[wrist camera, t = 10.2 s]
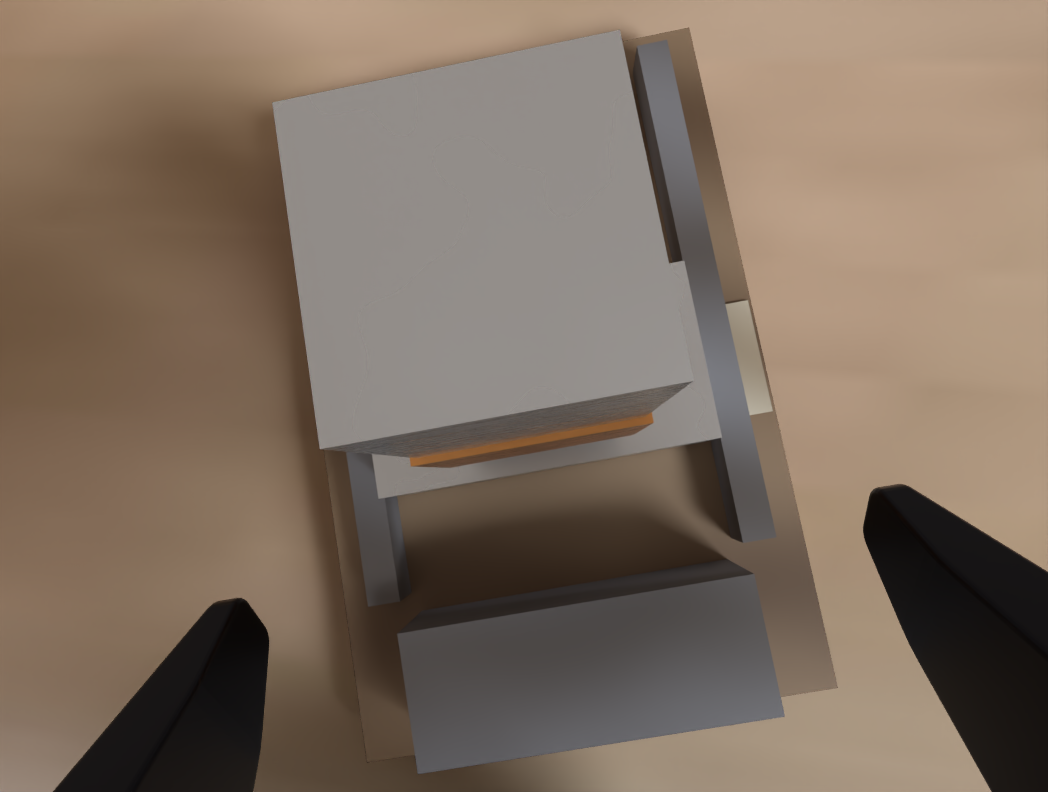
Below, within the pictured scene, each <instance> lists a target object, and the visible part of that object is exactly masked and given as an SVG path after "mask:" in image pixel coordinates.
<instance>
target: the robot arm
mask: <svg viewBox="0 0 1048 792" xmlns="http://www.w3.org/2000/svg"><path fill="white" fill-rule="evenodd" d="M863 533H864V538H865V542H866V545H867V547H868V549H869V552H870V554H871V556H872V559H873V561H874V563H875V566H876V568H877V571H878V573H879V575H880V578H881V580H882V582H883V585H884V587H885V589H886V592H887V594H888V596H889V599H890V601H891V603H892V606H893V608H894V611H895V613H896V615H897V618H898V620H899V622H900V625H901V627H902V629H903V631H904V634H905V636H906V638H907V640H908V642H909V645H910V646H911V648H912V650H913V652H914V654H915V656H916V658H917V660H918V662H919V663H920V665H921V667H922V669H923V670H924V672H925V674H926V676H927V678H928V679H929V681H930V683H931V685H932V686H933V688H934V690H935V692H936V694H937V695H938V697H939V699H940V701H941V702H942V704H943V706H944V708H945V710H946V711H947V713H948V715H949V717H950V718H951V720H952V722H953V724H954V726H955V727H956V729H957V731H958V733H959V735H960V736H961V738H962V740H963V742H964V743H965V745H966V747H967V749H968V751H969V752H970V754H971V756H972V758H973V759H974V761H975V763H976V765H977V767H978V768H979V770H980V772H981V774H982V775H983V777H984V779H985V781H986V783H987V784H988V786H989V788H990V790H991V792H1048V572H1047V571H1046V570H1044V569H1043V568H1041V567H1039V566H1038V565H1036V564H1034V563H1033V562H1031V561H1030V560H1028V559H1026V558H1025V557H1023V556H1021V555H1020V554H1018V553H1017V552H1015V551H1013V550H1012V549H1010V548H1008V547H1007V546H1005V545H1004V544H1002V543H1000V542H999V541H997V540H995V539H994V538H992V537H991V536H989V535H987V534H986V533H984V532H982V531H981V530H979V529H978V528H976V527H974V526H973V525H971V524H969V523H968V522H966V521H965V520H963V519H961V518H960V517H958V516H956V515H955V514H953V513H952V512H950V511H948V510H947V509H945V508H943V507H942V506H940V505H939V504H937V503H935V502H934V501H932V500H930V499H929V498H927V497H926V496H924V495H922V494H921V493H919V492H917V491H916V490H914V489H913V488H911V487H909V486H906V485H903V484H896V485H890V486H884V487H878V488H875V489H874V490H873V491H872V492H871V493H870V496H869V501H868V506H867V511H866V515H865V520H864V525H863ZM268 653H269V636H268V632H267V629H266V627H265V626H264V624H263V623H262V622H261V620H260V619H259V618H258V616H257V615H256V613H255V612H254V611H253V609H252V608H251V606H250V605H249V604H248V602H247V601H246V600H244V599H242V598H234V599H229V600H223V601H218V602H215V603H213V604H212V605H211V606H210V607H209V608H208V609H207V610H206V611H205V612H204V613H203V615H202V616H201V617H200V618H199V619H198V621H197V622H196V623H195V624H194V625H193V627H192V628H191V629H190V630H189V631H188V632H187V634H186V635H185V636H184V637H183V638H182V640H181V641H180V642H179V643H178V644H177V645H176V647H175V648H174V649H173V650H172V651H171V653H170V654H169V655H168V656H167V657H166V658H165V660H164V661H163V662H162V663H161V664H160V666H159V667H158V668H157V669H156V670H155V671H154V673H153V674H152V675H151V676H150V677H149V679H148V680H147V681H146V682H145V683H144V684H143V686H142V687H141V688H140V689H139V690H138V692H137V693H136V694H135V695H134V696H133V698H132V699H131V700H130V701H129V702H128V703H127V705H126V706H125V707H124V708H123V709H122V711H121V712H120V713H119V714H118V715H117V716H116V718H115V719H114V720H113V721H112V722H111V724H110V725H109V726H108V727H107V728H106V729H105V731H104V732H103V733H102V734H101V735H100V737H99V738H98V739H97V740H96V741H95V742H94V744H93V745H92V746H91V747H90V748H89V750H88V751H87V752H86V753H85V754H84V755H83V757H82V758H81V759H80V760H79V761H78V763H77V764H76V765H75V766H74V767H73V769H72V770H71V771H70V772H69V773H68V774H67V776H66V777H65V778H64V779H63V780H62V782H61V783H60V784H59V785H58V786H57V787H56V789H55V790H54V791H53V792H253V789H254V784H255V778H256V773H257V767H258V761H259V755H260V749H261V740H262V730H263V717H264V705H265V692H266V679H267V666H268Z"/></svg>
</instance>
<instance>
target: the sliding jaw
mask: <svg viewBox="0 0 1048 792" xmlns="http://www.w3.org/2000/svg"><path fill="white" fill-rule="evenodd" d="M272 104H273V112H274V119H275V126H276V134H277V141H278V148H279V155H280V163H281V170H282V177H283V185H284V192H285V199H286V207H287V214H288V221H289V228H290V236H291V243H292V250H293V258H294V265H295V272H296V280H297V287H298V294H299V301H300V309H301V316H302V323H303V331H304V338H305V345H306V353H307V360H308V367H309V374H310V382H311V389H312V396H313V404H314V411H315V418H316V426H317V433H318V440H319V447H320V449H323V450H334V451H345V452H355V453H366V454H372V458H373V465H374V472H375V478H376V485H377V492H378V499H381V498H388V497H395V496H403V495H410V494H416V493H421V492H427V491H433V490H438V489H444V488H449V487H455V486H461V485H466V484H472V483H477V482H483V481H489V480H494V479H500V478H506V477H511V476H517V475H522V474H528V473H534V472H539V471H545V470H550V469H556V468H562V467H567V466H573V465H579V464H584V463H590V462H595V461H601V460H607V459H612V458H618V457H623V456H629V455H635V454H640V453H646V452H652V451H657V450H663V449H668V448H674V447H680V446H685V445H691V444H696V443H701V442H705V441H709V440H714V439H718V438H722V435H721V430H720V425H719V421H718V416H717V411H716V407H715V402H714V397H713V393H712V388H711V383H710V379H709V374H708V369H707V365H706V360H705V355H704V351H703V346H702V341H701V336H700V332H699V327H698V322H697V318H696V313H695V308H694V304H693V299H692V294H691V290H690V285H689V280H688V276H687V271H686V266H685V262H684V261H679V262H674V263H669V261H668V256H667V251H666V246H665V242H664V237H663V232H662V227H661V223H660V218H659V213H658V209H657V204H656V199H655V194H654V190H653V185H652V180H651V175H650V171H649V166H648V161H647V156H646V152H645V147H644V142H643V137H642V133H641V128H640V123H639V118H638V114H637V109H636V104H635V99H634V95H633V90H632V85H631V80H630V76H629V71H628V66H627V62H626V57H625V52H624V47H623V43H622V38H621V33H620V30H616V31H612V32H607V33H602V34H597V35H592V36H588V37H583V38H578V39H573V40H569V41H564V42H559V43H554V44H549V45H545V46H540V47H535V48H530V49H526V50H521V51H516V52H511V53H506V54H502V55H497V56H492V57H487V58H482V59H478V60H473V61H468V62H463V63H459V64H454V65H449V66H444V67H439V68H435V69H430V70H425V71H420V72H416V73H411V74H406V75H401V76H396V77H392V78H387V79H382V80H377V81H373V82H368V83H363V84H358V85H353V86H349V87H344V88H339V89H334V90H330V91H325V92H320V93H315V94H310V95H306V96H301V97H296V98H291V99H287V100H282V101H277V102H272Z"/></svg>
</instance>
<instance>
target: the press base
mask: <svg viewBox="0 0 1048 792" xmlns="http://www.w3.org/2000/svg"><path fill="white" fill-rule="evenodd" d="M622 43H623V47H624V52H625V57H626V62H627V66H628V71H629V76H630V80H631V85H632V90H633V95H634V99H635V104H636V109H637V114H638V118H639V123H640V128H641V133H642V137H643V142H644V147H645V152H646V156H647V161H648V166H649V171H650V175H651V180H652V185H653V190H654V194H655V199H656V204H657V209H658V213H659V218H660V223H661V227H662V232H663V237H664V242H665V246H666V251H667V256H668V261H669V263H674V262H679V261H684V262H685V266H686V271H687V276H688V280H689V285H690V290H691V294H692V299H693V304H694V308H695V313H696V318H697V322H698V327H699V332H700V336H701V341H702V346H703V351H704V355H705V360H706V365H707V369H708V374H709V379H710V383H711V388H712V393H713V397H714V402H715V407H716V411H717V416H718V421H719V425H720V430H721V435H722V438H718V439H714V440H709V441H705V442H701V443H696V444H691V445H685V446H680V447H674V448H668V449H663V450H657V451H652V452H646V453H640V454H635V455H629V456H623V457H618V458H612V459H607V460H601V461H595V462H590V463H584V464H579V465H573V466H567V467H562V468H556V469H550V470H545V471H539V472H534V473H528V474H522V475H517V476H511V477H506V478H500V479H494V480H489V481H483V482H477V483H472V484H466V485H461V486H455V487H449V488H444V489H438V490H433V491H427V492H421V493H416V494H410V495H403V496H395V497H388V498H381V499H378V492H377V485H376V478H375V472H374V465H373V458H372V454H366V453H355V452H345V451H334V450H324V455H325V462H326V469H327V476H328V484H329V491H330V498H331V505H332V513H333V520H334V527H335V534H336V542H337V549H338V556H339V564H340V571H341V578H342V585H343V593H344V600H345V607H346V614H347V622H348V629H349V636H350V643H351V651H352V658H353V665H354V672H355V680H356V687H357V694H358V701H359V709H360V716H361V723H362V731H363V738H364V745H365V752H366V760H367V763H368V762H374V761H381V760H387V759H393V758H399V757H406V756H412V755H415V758H416V765H417V772H418V774H423V773H429V772H435V771H442V770H448V769H455V768H461V767H467V766H474V765H480V764H486V763H493V762H499V761H505V760H512V759H518V758H524V757H531V756H537V755H544V754H550V753H556V752H563V751H569V750H575V749H582V748H588V747H594V746H601V745H607V744H613V743H620V742H626V741H633V740H639V739H645V738H652V737H658V736H664V735H671V734H677V733H683V732H690V731H696V730H702V729H709V728H715V727H722V726H728V725H734V724H741V723H747V722H753V721H760V720H766V719H772V718H779V717H785V715H784V710H783V706H782V701H781V697H784V696H790V695H796V694H802V693H809V692H815V691H821V690H828V689H834V688H838V686H837V682H836V677H835V673H834V669H833V664H832V660H831V655H830V651H829V646H828V642H827V637H826V633H825V629H824V624H823V620H822V615H821V611H820V606H819V602H818V598H817V593H816V589H815V584H814V580H813V575H812V571H811V566H810V562H809V558H808V553H807V549H806V544H805V540H804V535H803V531H802V526H801V522H800V518H799V513H798V509H797V504H796V500H795V495H794V491H793V487H792V482H791V478H790V473H789V469H788V464H787V460H786V455H785V451H784V447H783V442H782V438H781V433H780V429H779V424H778V420H777V416H776V411H775V407H774V402H773V398H772V393H771V389H770V384H769V380H768V376H767V371H766V367H765V362H764V358H763V353H762V349H761V345H760V340H759V336H758V331H757V327H756V322H755V318H754V313H753V309H752V305H751V300H750V296H749V291H748V287H747V282H746V278H745V274H744V269H743V265H742V260H741V256H740V251H739V247H738V242H737V238H736V234H735V229H734V225H733V220H732V216H731V211H730V207H729V202H728V198H727V194H726V189H725V185H724V180H723V176H722V171H721V167H720V163H719V158H718V154H717V149H716V145H715V140H714V136H713V131H712V127H711V123H710V118H709V114H708V109H707V105H706V100H705V96H704V92H703V87H702V83H701V78H700V74H699V69H698V65H697V60H696V56H695V52H694V47H693V43H692V38H691V34H690V29H689V28H684V29H680V30H675V31H670V32H665V33H660V34H656V35H651V36H646V37H641V38H636V39H632V40H627V41H622Z"/></svg>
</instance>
